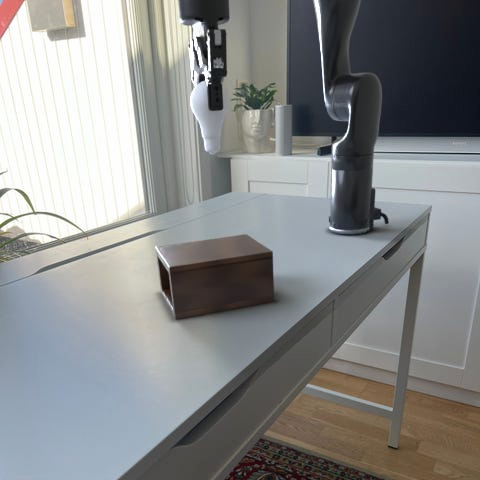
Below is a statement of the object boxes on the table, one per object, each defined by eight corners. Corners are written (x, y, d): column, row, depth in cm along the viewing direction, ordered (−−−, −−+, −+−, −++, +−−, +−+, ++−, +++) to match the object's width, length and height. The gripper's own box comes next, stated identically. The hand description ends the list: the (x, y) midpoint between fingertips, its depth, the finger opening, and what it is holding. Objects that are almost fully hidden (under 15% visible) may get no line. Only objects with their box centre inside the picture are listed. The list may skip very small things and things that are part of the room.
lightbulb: (194, 154, 81) (189, 82, 77) (230, 152, 82) (226, 80, 77) (194, 157, 76) (187, 80, 71) (232, 155, 76) (228, 78, 72)
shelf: (248, 278, 86) (246, 234, 83) (274, 301, 76) (272, 251, 73) (161, 293, 82) (155, 246, 79) (175, 319, 72) (169, 267, 68)
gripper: (242, -28, 64) (247, 109, 71) (214, -4, 77) (220, 110, 83) (187, -29, 62) (197, 111, 69) (168, -5, 75) (178, 112, 81)
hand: (210, 110), depth 76 cm, fingers closed on lightbulb, 6 cm apart
